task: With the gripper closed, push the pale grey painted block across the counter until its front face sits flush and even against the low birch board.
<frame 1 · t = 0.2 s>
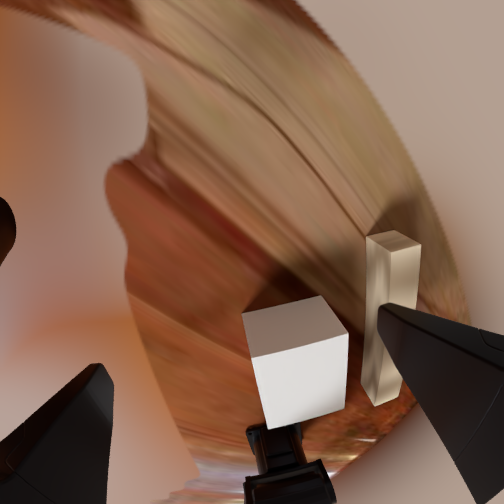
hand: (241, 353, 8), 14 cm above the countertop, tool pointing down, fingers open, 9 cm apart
block: (286, 343, 26), on the countertop
board: (378, 318, 27), on the countertop
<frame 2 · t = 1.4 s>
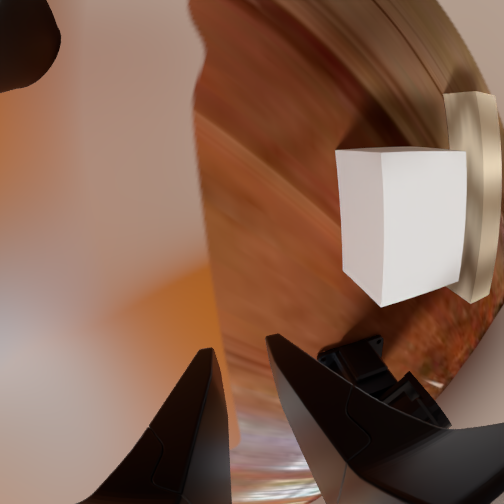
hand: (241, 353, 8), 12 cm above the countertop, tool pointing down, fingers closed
block: (380, 206, 21), on the countertop
board: (461, 193, 21), on the countertop
mug: (40, 33, 12), on the countertop
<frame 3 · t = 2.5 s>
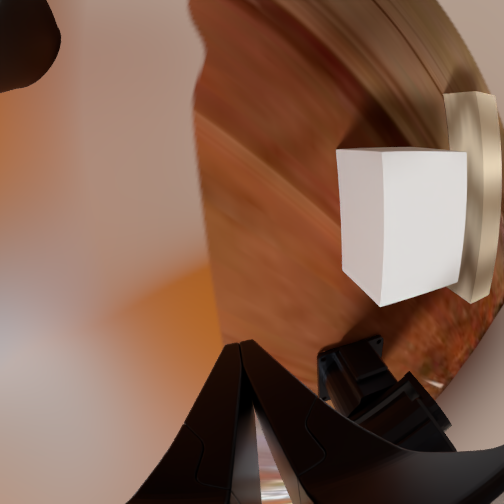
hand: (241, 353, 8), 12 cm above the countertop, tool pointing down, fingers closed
block: (380, 206, 21), on the countertop
board: (461, 193, 21), on the countertop
mug: (40, 33, 12), on the countertop
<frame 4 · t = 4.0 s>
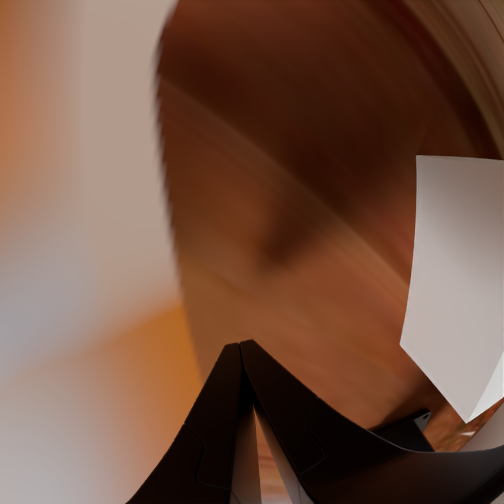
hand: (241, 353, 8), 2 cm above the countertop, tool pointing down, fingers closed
block: (461, 249, 12), on the countertop
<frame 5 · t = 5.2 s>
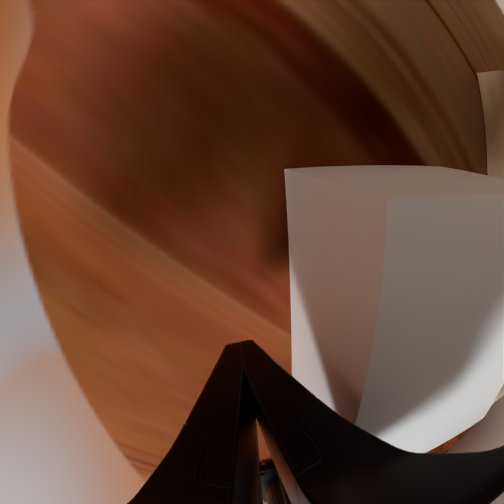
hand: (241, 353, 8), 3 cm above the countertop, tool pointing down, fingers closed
block: (372, 278, 11), on the countertop, touching gripper
board: (497, 242, 12), on the countertop
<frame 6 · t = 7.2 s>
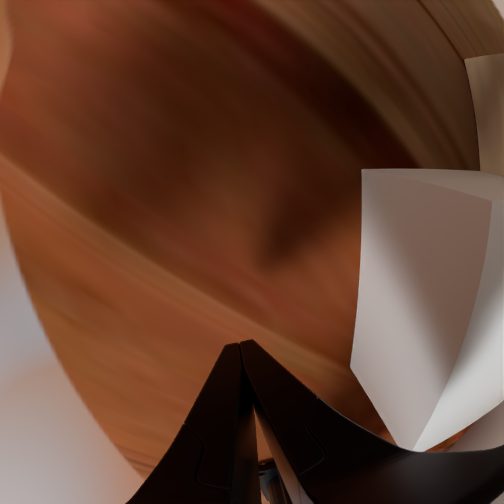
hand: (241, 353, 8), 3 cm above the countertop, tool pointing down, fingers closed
block: (422, 269, 12), on the countertop
board: (493, 233, 12), on the countertop
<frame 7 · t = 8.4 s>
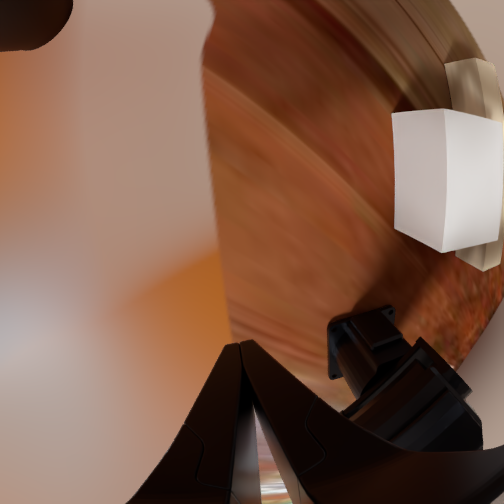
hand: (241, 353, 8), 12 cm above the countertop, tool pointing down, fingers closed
block: (426, 170, 20), on the countertop
board: (467, 161, 20), on the countertop
mug: (52, 1, 11), on the countertop
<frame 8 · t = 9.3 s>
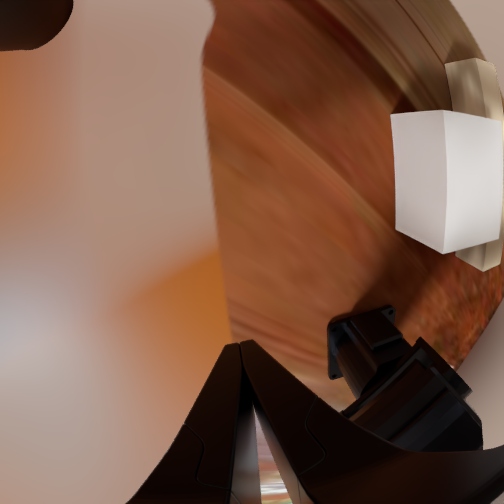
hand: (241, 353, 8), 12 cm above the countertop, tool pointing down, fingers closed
block: (426, 171, 20), on the countertop
board: (467, 161, 20), on the countertop
mug: (52, 0, 11), on the countertop
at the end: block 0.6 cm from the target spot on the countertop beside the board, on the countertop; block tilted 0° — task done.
